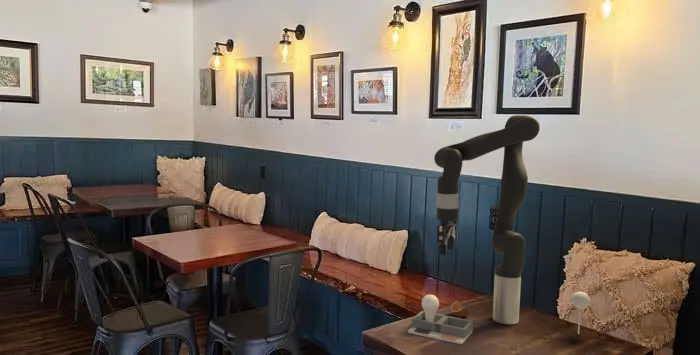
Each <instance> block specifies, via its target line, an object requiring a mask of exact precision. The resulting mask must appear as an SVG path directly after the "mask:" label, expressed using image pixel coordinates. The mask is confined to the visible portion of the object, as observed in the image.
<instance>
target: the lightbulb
mask: <svg viewBox="0 0 700 355" xmlns="http://www.w3.org/2000/svg"><path fill="white" fill-rule="evenodd" d="M421 306H422V309H423V311H424V312H425V318H426V321H430V322H433V319H434V315H435V314H436V313H437V311H438V309H439V306H440V301H439V299H438V297H437V296H436V295H434V294H426V295H424V296H423V298H422V300H421Z"/></svg>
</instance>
